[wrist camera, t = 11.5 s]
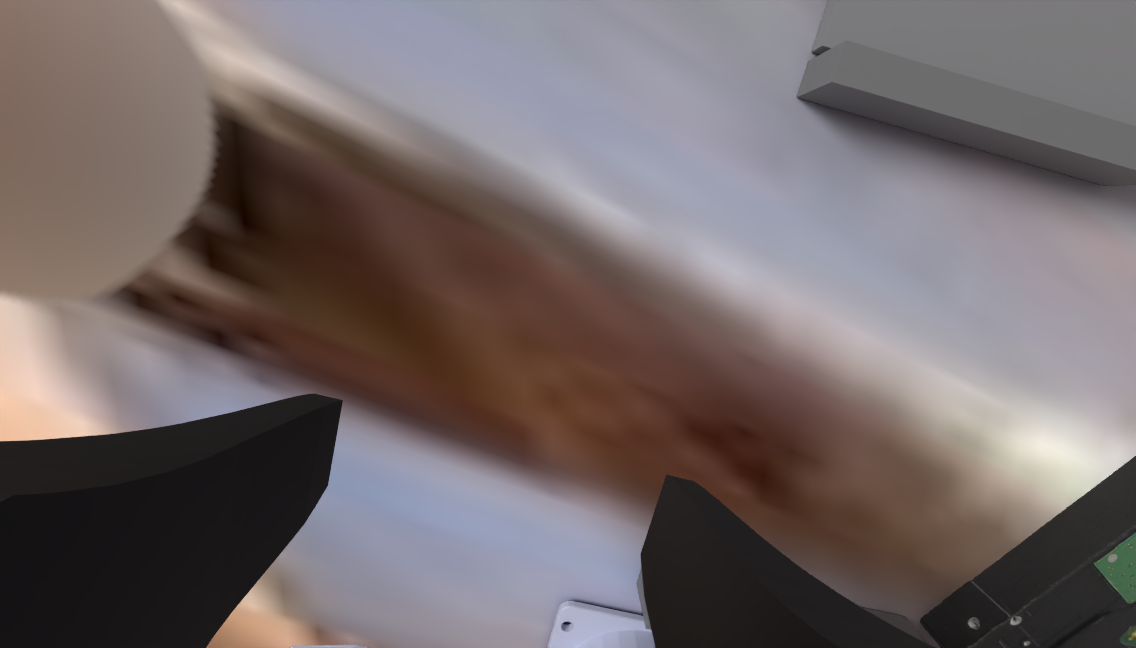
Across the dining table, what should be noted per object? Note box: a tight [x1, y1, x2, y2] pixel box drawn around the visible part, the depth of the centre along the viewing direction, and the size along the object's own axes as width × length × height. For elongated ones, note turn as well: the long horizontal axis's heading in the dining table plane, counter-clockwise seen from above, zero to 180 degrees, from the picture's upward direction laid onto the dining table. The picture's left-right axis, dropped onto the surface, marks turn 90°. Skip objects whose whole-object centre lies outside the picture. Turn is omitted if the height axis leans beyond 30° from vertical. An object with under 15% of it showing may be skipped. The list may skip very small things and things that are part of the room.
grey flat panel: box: [637, 0, 1136, 644], centre depth 19 cm, size 30×12×2 cm, turn 166°
